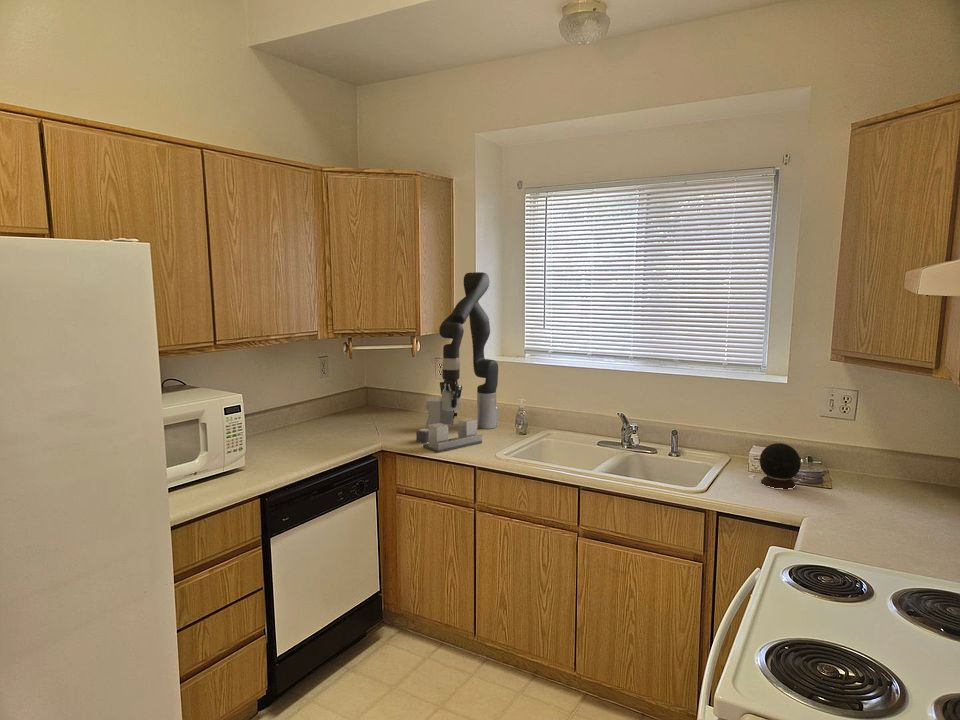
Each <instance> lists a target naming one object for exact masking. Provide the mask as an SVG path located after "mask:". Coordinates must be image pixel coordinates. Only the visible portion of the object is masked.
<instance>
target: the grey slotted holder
mask: <svg viewBox="0 0 960 720" xmlns="http://www.w3.org/2000/svg"><path fill="white" fill-rule="evenodd" d="M457 426H458V427H457V437H453V438H449V425H445V424H442V423H436V424H431V425H429V442H428V443H422V448H424V449H427V450H429V451H432V452H435V453H438V454H439V453H444V452H448V451H452V450H453V451H454V450H458V449H462V448H466V447H472V446H474V445H475V446H476V445H480V444H482V443H483V434H478V427H477V418H476V419H475V418H471V417H465V418H459V419H458V420H457Z"/></svg>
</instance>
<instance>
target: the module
mask: <svg viewBox="0 0 960 720" xmlns="http://www.w3.org/2000/svg"><path fill="white" fill-rule="evenodd" d="M450 392H451V391H444V390H443V392H442V395H441V398H442V410H445V411H453V410H454V411H459V410H460V398H458V399H457V406H456V408H452V397H451V393H450ZM452 392H455V391H452ZM454 395H455V394H454ZM457 396H458V394H457Z"/></svg>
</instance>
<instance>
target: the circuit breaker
mask: <svg viewBox="0 0 960 720" xmlns="http://www.w3.org/2000/svg"><path fill="white" fill-rule="evenodd" d="M425 410H426V411H427V420H426V422H425V426H426V427H425V429H429V425H431V424H436V423H442V424H445V425H448V426H451V425H454V422H455V417H458V412H455V410H453V411H445V410H442V397H428V398H427V399H426V403H425Z"/></svg>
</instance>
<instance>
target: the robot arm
mask: <svg viewBox="0 0 960 720" xmlns="http://www.w3.org/2000/svg"><path fill="white" fill-rule="evenodd" d="M489 287H490V277H489V275H488V274H487V273H486V272H483V271H482V272H480V271H479V272H466V273H465V274H464V277H463V289H464V293H465V294H464V295H465V296H464V297H463V298H461V299H460V300H459V301H458V302H457V303H456V305H455V307H454V309H453V310H452V312H451V314H450V315H447V317H446V318H445V319H444V320H443V321H442V322H441V324H440V326H439V330H438V331H439V335H440V337H441V338H443V339H450V340H452V341H451V343H447V344H444V345H443V348H442V364H441V365H442V366H441V367H442V368H441V369H442V372H441V373H442V375H441V376H442V377H441V378H442V379H443V381H440V382H439V388H440V394H441V396H442V392H443V391H451V392H450V393H451V397H452V408H456V406H457V399H458V398H459V399H460V398H461V395H462V390H463V385H462V384H461V385H460V384H459V381H458V380H459V379H460V373H461V371H460V367H461V366H460V365H461V364H460V348H461V344H462V340H463V336H464V331H465V330H464V329H465V328H464V326H463V325H464V324H465V323H466V322H467V319H468V317H469V327H470V332H471V333H470V334H471V344H472V360H473V361H472V364H473V365H472V366H473V372H474V374H475V376H476V377H478V378H482V379H485V381H484V383H482V384H480V385H478V386H476V387H477V388H476V391H477V392H476V409H477V410H476V420H477V429H478V428H479V429H486V430H488V429H495V428H496V427H498V420H499V419H498V416H499V414H498V413H499V411H498V410H499V408H498V406H497V388H498V383H499V382H498V381H499V364H498V362H497V361H496V359H489V358H485V346H486V344H487V342H488V339H490V335H491V326H490V318H489V316H488V314H487V313H486V312H485V309H484V308H483V307H482V306H481V304H480V302H479V301H480V299H481V298H482V297H483V296H484V295H485V294H486V293H487V292H488V291H487V290H488V289H489ZM452 391H455V392H452ZM454 394H455V395H454ZM457 394H458V396H457Z"/></svg>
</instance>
